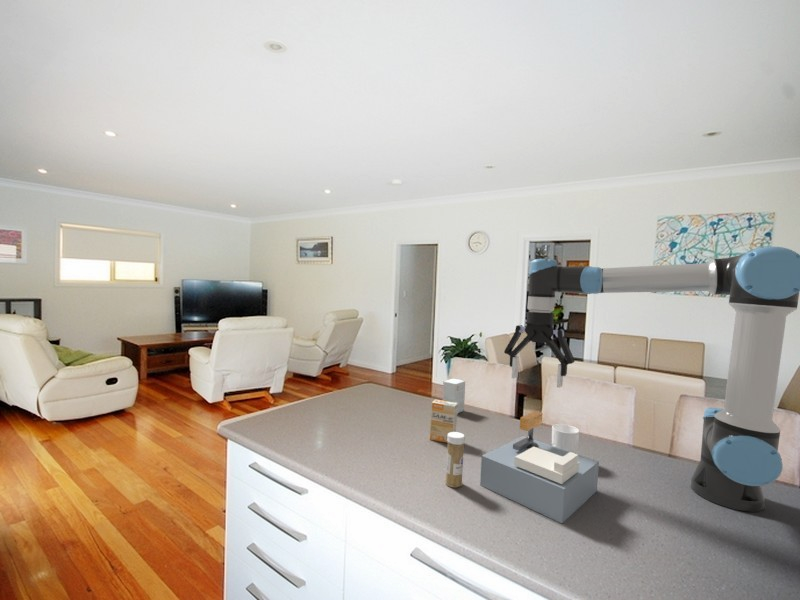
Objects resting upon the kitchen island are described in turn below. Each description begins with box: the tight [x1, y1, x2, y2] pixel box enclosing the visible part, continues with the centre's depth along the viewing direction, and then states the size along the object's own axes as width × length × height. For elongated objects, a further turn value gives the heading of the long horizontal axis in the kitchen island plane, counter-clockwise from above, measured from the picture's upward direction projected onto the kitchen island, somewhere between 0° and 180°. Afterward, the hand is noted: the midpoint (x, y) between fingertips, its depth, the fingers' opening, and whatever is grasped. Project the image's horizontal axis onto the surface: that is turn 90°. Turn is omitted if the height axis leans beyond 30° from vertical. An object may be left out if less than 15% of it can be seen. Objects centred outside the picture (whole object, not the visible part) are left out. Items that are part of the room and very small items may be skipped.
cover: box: [514, 447, 579, 484], centre depth 97 cm, size 12×10×4 cm
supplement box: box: [429, 398, 458, 444], centre depth 134 cm, size 8×5×13 cm, turn 68°
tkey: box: [513, 410, 543, 451], centre depth 111 cm, size 2×12×8 cm, turn 135°
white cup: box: [551, 423, 580, 454], centre depth 122 cm, size 8×8×10 cm
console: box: [479, 435, 600, 524], centre depth 104 cm, size 22×22×8 cm
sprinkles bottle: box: [445, 431, 466, 488], centre depth 104 cm, size 5×5×14 cm
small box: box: [442, 378, 466, 415], centre depth 165 cm, size 8×6×13 cm
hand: (536, 382), depth 117 cm, fingers open, 13 cm apart
